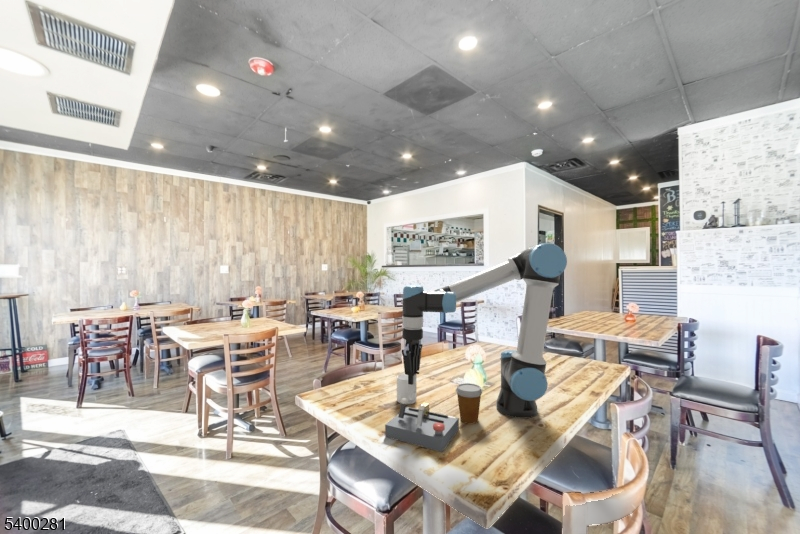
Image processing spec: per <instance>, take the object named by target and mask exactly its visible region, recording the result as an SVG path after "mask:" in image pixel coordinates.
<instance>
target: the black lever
mask: <svg viewBox="0 0 800 534" xmlns="http://www.w3.org/2000/svg"><path fill="white" fill-rule="evenodd" d="M407 402H408V401H407V399H406V398H403V399H402V400H401V403H400V407H399V413H398V414H399V416H398V417H399V418H402V419H403V418H404V413H405V409H406V408H407V405H406V404H407Z"/></svg>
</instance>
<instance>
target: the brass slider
mask: <svg viewBox="0 0 800 534" xmlns="http://www.w3.org/2000/svg"><path fill="white" fill-rule="evenodd" d="M421 405H424V406H425V411H424V415H423V416H427V415H428V414H429V412H430V403H428V402H423V403H422V404H421Z"/></svg>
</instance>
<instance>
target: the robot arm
mask: <svg viewBox="0 0 800 534" xmlns="http://www.w3.org/2000/svg"><path fill="white" fill-rule="evenodd" d="M567 257H568V256H567V254H566V252H565V251H564V250H563V249H562V248H561V247H560V246H559V245H557V244H554V243H552V242H551V243H550V242H545V243H544V242H542V243H541V242H540V243H538V244H536V245H532V246H529V247H527V248H526V249H524V250H522V251H520V252H518V253H517V254H515V255H513V256H510V257H509V258H508V259H507V261H505V262H502V263H500V264H497V265H496V266H493V267H490V268H488V269H486V270H482V271H481V272H478V273H476V274H473V275H471V276H467V277H466V278H464V279H461V280H459V281H456V282H453V283H451V284H449V285H447V286H444V287H440V288H437V289H435V290H433V291H425V290H424V287H423V286H422V285H406V286H404V287H403V289H402V319H401V320H402V327H403V328H402V339H403V340H405V344H404V345H405V348H404V349H401V353H402V359H403V370H404V374H406V375H408V392H409V393H414V394H415V393H416V394H417V375H419V374H420V366H421V358H422V357H421V356H422V349H423V344H422V343H421V340H422V339H423V338H424V332H423V331H424V329H423V327H424V313H445V314H448V313H449V314H450V313H451V314H452V313H455V312H456V310H457V303H458V302H461V301H463V300H467V299H468V298H471V297H473V296H474V297H475V296H476V295H479V294H482V293H484V292H486V291H489V290H492V289H494V288H496V287H499V286H502V285H504V284H506V283H509V282H511V281H514V280H517V281H521V280H523V281H524V283H525V284H526V288H525V289H526V290H525V294H524V295H525V296H524V301H523V302H524V303H523V309H522V313H521V314H522V315H521V321H520V328H519V334H518V339H517V345H516V346H517V347H516V350H503V351H501V353H500V358H499V360H500V390H499V394H498V395H497V396H498V397H497V398H496V399H497V400H496V410H497V411H498V412H500V413H501V414H503V415H505V416H508V417H511V418H516V419H529V418H533V417H536V416H537V415H538V405H537V402H536V401H537V400H538V399H540V398H542V397H543V396H544V395H545V394H546V392H547V390H548V380H547V377H546V368H547V360H546V359H545V358H544V357H543V356H544V350H545V342H546V336H547V330H548V323H549V319H550V318H549V317H550V310H551V304H552V298H553V292H554V289H555V288H556V287H557V286H559V284H560V278H561V275H562V273H563V272H564V271H565V270H566V268H567V265H568V258H567Z"/></svg>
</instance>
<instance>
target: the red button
mask: <svg viewBox="0 0 800 534" xmlns="http://www.w3.org/2000/svg"><path fill="white" fill-rule="evenodd" d="M433 429H434V430H435V434H436V435H438V436H441V435H443V431H444V430H445V425H444V424H442V423H434V424H433Z"/></svg>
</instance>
